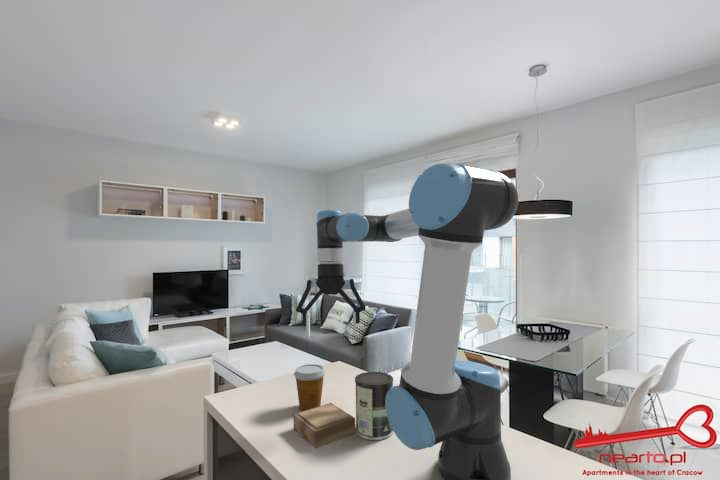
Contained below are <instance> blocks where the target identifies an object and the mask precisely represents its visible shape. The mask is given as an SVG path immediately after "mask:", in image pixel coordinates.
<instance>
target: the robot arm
mask: <svg viewBox="0 0 720 480" xmlns="http://www.w3.org/2000/svg"><path fill="white" fill-rule="evenodd" d="M408 198H409V199H408V208H406V209H403V210H399V211H396V212H392V213H390V214H385V215H373V214H372V215H370V214H369V215H368V214H361V213H360V212H347V213H344V214H343V213H342V211H340V210H338V209H337V210H335V209H325V210H321V211H318V212H317V215H316V239H317V240H316V243H317V247H316V250H317V251H316V252H317V253H316V254H317V258H316V259H317V262H318V264H317V279H316V280H312V279H308V280H307V282H306V287H305V290H304V292H303V294H302V296H301V297H300V298H301V299H300V300H299V302H298V304H297V306H296V308H295V311H296V313H300V314H302V317H301V318H302V325H303V326H306V329H305V333H306V336H305V337H306V338H310V337H311V313H310V312H308V311H309V310H310V309H311V308H312V306H313V305H314V304H315V303H316V302H317V301H318V299H319V298H320V296H321V295H325V296H330V295H332V296H336V295H338V294H339V295H340V296H341V297H342V298H343V300H345V302H347V304H348V305H349V306H350V307H351V308H352V310H353V311H352V324H353V329H352V330H353V333H352V334H353V336H352V337H355V336H356V337H357V325H358V324H360V321H361V319H360V318H361V317H360V314H361V312H362V311H366V305H365V304H364V301H363V300H362V298H361V296H360V294H359V292H358V290H357V288H356V286H355V280H354V278H350V279H344V264H343V263H342V262H343V261H344V255H343V253H344V247H343V246H344V245H343V244H344V243H345V242H346V243H347V242H350V243H351V242H354V243H355V242H356V243H357V242H358V243H359V242H361V243H362V242H364V243H365V242H367V243H368V242H370V243H371V242H381V243H382V242H383V243H384V242H385V243H394V242H400V241H402V240H403V239H406V238H411V237H417V236H418V237H419V239H420V240H421V241H422V242H423V244H424V252H423V258H422V267H421V273H420V275H421V276H420V283H419V284H420V285H419V290H418V299H417V306H416V314H415V315H416V316H415V322H414V331H413V338H412V347H411V354H410V361H409V362H407V363H405V364H404V365H403V367H402V368H401V371H400V380H399V384H398V385H393V388H392V389H390V390H389V391H388V392H387V395H386V399H385V407H386V413H387V417H388V420H389V422H390V425H391V427H392V429H393V431H394V432H393V434H395V436H396V437H397V439H398V440H399V441H400V442H401V443H402V444H403V446H405V447H406V448H408V449H411V450H413V451H421V450H424V449H427V448H432V447H434V446H435V445H437V444H440V443H441V445H440V448H439V452H438V455H437V463H438V464H437V466H438V467H437V468H438V471H439V473H440V476H442V477H443V479H444V480H512V474H511V471H512V470H511V468H512V467H511V463H510V461H509V459H508V457H507V452H506V450H505V449H506V448H505V447H504V443H503V440H502V418H501V417H502V416H501V415H502V409H501V408H502V407H501V406H502V405H501V403H502V401H501V400H502V399H501V398H502V397H501V395H502V394H501V391H502V387H501V379H500V374H499V373H498V371H497V370H496V369H495V368H494V367H491V366H489V365H487V364H483V363H479V362H475V361H469V360H462V359H461V360H460V359H457V356H458V349H459V343H460V337H461V336H460V335H461V329H462V323H463V322H462V321H463V316H464V308H465V302H466V296H467V288H468V281H469V274H470V267H471V261H472V254H473V252H474V250H475V249H477V248H479V246H481V245H482V244H483V241H484V240H483V239H484V232H485V231H491V230H496V229H499V228H501V227H503V226H504V225H507V224H508V223H509V222H510V221H511V220H512V219H513V217H514V216H515V215H516V213H517V210H518V207H519V193H518V189H517V187H516V185H515V184H514V183H513V181H512V180H511V179H510V178H509V177H508V176H507V175H505V174H504V173H502V172H499V171H496V170H491V169H483V168H478V167H473V166H469V165H464V164H458V163H443V162H442V163H436V164H433V165H431V166H428V167H427V168H426V169H424V170H423V172H422V173H421V174H419V175H418V176H417V178H416V179H415V182H414V183H413V185H412V188H411V191H410V192H409V197H408ZM315 285H316V286H317V288H318V291H317V292H316V294H315V295H314V296H313V297H312V298H311V300H310V301H309V302H308V303H307V305H306V306H305V307H304V304H305V302H306V300H307V298H308V296H309V294H310V291H311V289H312V288H314V286H315ZM345 285H346V286H347V287H350V290H351V292H352V294H353V295H354V297H355V299H356V301H357V302H358V304H359V306H357V304H356V303H355V302H354V301H353V299H351V298H350V297H349V295H348V294H347V293H346V292H345V291H344V290H343V287H344V286H345ZM303 307H304V308H303Z"/></svg>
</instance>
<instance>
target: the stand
mask: <svg viewBox="0 0 720 480" xmlns="http://www.w3.org/2000/svg"><path fill="white" fill-rule="evenodd" d="M292 415H293V430H294V431H295V432H297V434H298V435H300V437H302V438H303V439H304V440H306V442H307V443H308V444H310V445H311V446H312V447H313V448H314V449H318V448H321V447H323V446H326V445H329V444H331V443H333V442H337V441H338V440H341V439H344V438H347V437H349V436H352V435H354V434H356V417H355V416H352V415H351V414H349V413H348V412H347V411H345V410H343V409H342V408H340V407H339V406H337V405H335V403H332V402H330V403H326V404H323V405H322V404H321V405H320V406H319V407H316V408H312V409H309V410H306V411H300V412H297V413H294V414H292Z"/></svg>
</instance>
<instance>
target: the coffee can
mask: <svg viewBox="0 0 720 480" xmlns="http://www.w3.org/2000/svg"><path fill="white" fill-rule="evenodd" d="M354 381H355V434H356V435H358V437H360V438H362V439H364V440H369V441H381V440H386V439H388V438H390V437H392V436H393V434H394V431H393V429H392V427H391V425H390V422H389V420H388V417H387V413H386V407H385V399H386V395H387V392H388V391H389V390H390V389H392V388H393V387H394V383H393V382H394V377H393V376H392V375H391V374H389V373H386V372H381V371H366V372H362V373H359V374H357V375H356V376H355V377H354Z"/></svg>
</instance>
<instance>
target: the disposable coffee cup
mask: <svg viewBox="0 0 720 480" xmlns="http://www.w3.org/2000/svg"><path fill="white" fill-rule="evenodd" d="M293 374H294V378H295V381H296V389H297V397H298V398H297V399H298V406H299V407H298V408H299V410H300V412H303V411H306V410H309V409H312V408H316V407H319V406H321V405H322V403H321V402H322V395H323V394H322V393H323V386H324V377H325V375H326V371H325V368H324V366H323V365H320V364H313V363H312V364H311V363H310V364H309V363H308V364H307V363H306V364H302V365H299V366H297V367H296V368H295V371H294V373H293Z"/></svg>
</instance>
